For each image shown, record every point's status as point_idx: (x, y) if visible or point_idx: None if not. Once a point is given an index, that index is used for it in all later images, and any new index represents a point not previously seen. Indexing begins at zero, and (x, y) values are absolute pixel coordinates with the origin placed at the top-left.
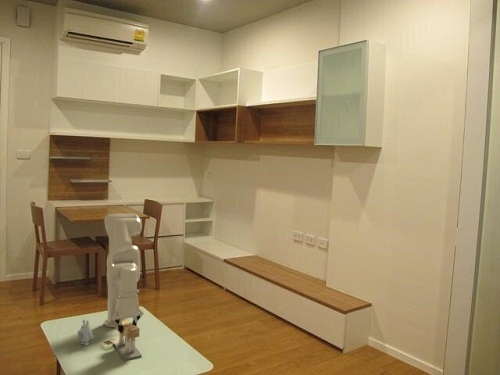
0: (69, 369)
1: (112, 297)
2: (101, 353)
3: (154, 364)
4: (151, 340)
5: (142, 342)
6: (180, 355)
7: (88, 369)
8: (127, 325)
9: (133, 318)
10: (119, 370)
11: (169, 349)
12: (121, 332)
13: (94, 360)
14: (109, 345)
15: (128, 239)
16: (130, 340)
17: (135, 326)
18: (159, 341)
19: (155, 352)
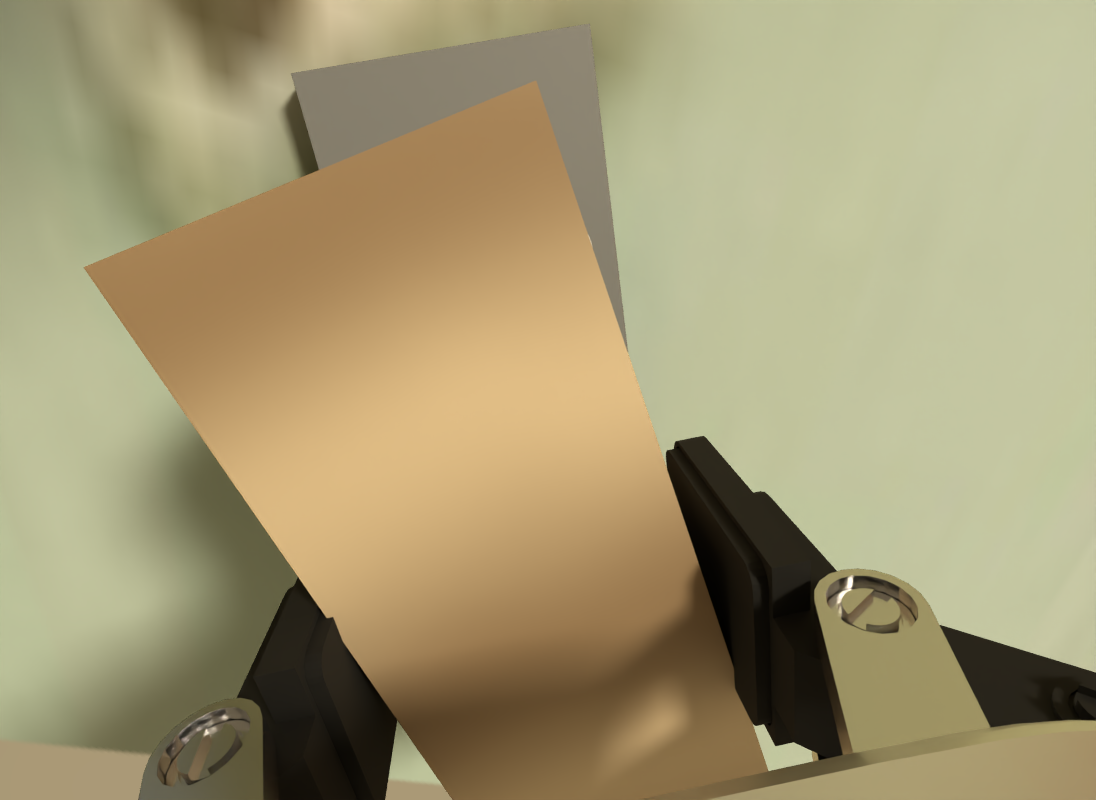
0: None
1: None
2: (160, 400)
3: None
4: (904, 139)
5: (762, 177)
6: (1009, 620)
7: (85, 732)
8: (544, 694)
9: (841, 700)
10: (407, 780)
11: (983, 477)
12: None
13: (104, 567)
14: (246, 141)
15: None
16: (596, 118)
17: (741, 768)
18: (987, 213)
19: (819, 515)
